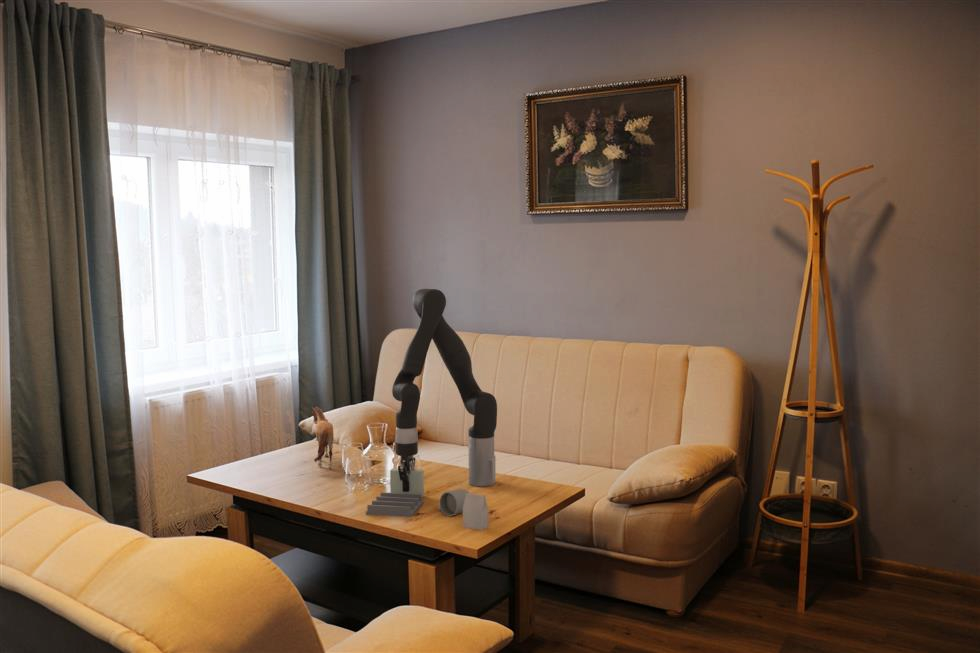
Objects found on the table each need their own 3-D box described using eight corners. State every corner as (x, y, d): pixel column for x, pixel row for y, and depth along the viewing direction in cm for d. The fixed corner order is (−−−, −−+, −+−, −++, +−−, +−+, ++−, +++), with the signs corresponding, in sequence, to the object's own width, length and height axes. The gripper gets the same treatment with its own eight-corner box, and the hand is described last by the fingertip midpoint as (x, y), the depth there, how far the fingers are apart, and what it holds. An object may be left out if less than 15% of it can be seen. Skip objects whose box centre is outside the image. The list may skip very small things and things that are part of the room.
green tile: (423, 495, 282) (423, 469, 281) (422, 497, 279) (421, 471, 278) (392, 494, 283) (392, 468, 283) (390, 496, 281) (390, 470, 280)
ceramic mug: (473, 512, 264) (473, 488, 263) (457, 518, 258) (456, 494, 257) (448, 506, 271) (448, 483, 270) (431, 512, 264) (431, 488, 264)
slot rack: (423, 503, 273) (423, 494, 273) (411, 516, 259) (411, 507, 259) (379, 501, 276) (379, 492, 276) (365, 514, 262) (365, 505, 262)
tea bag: (481, 530, 246) (481, 497, 246) (462, 526, 250) (462, 494, 249) (488, 527, 249) (488, 494, 249) (469, 523, 253) (469, 491, 252)
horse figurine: (312, 455, 340) (311, 405, 338) (332, 453, 341) (331, 404, 340) (314, 474, 310) (312, 420, 308) (335, 473, 311) (334, 419, 310)
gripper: (411, 445, 272) (412, 496, 274) (422, 436, 286) (423, 485, 287) (389, 444, 273) (390, 495, 275) (401, 435, 287) (402, 484, 289)
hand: (407, 489), depth 281 cm, fingers closed on green tile, 2 cm apart
